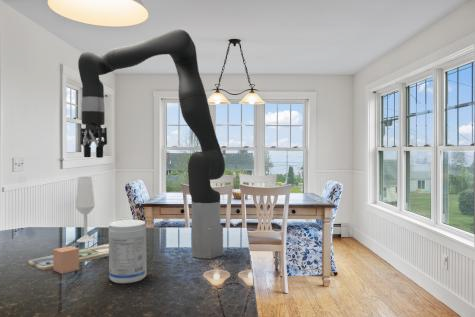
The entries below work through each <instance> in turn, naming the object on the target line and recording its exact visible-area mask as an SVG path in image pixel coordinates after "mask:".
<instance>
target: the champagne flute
mask: <svg viewBox="0 0 475 317" xmlns="http://www.w3.org/2000/svg"><path fill="white" fill-rule="evenodd" d="M76 185H77V188H76V198H75V208H76V210H77V212H79V213H80V214H82V215H83V235H82V236H81V237H80V238H78V239H77V240H76V242H77V243H87V242H88V241H89V242H93V241H96V238H94V237H92V236H90V235H89V234H88V215H89V214H90V213H91V212H92V211H93V209H94V208H95V197H94V196H95V195H94V186H93V179H92V176H78V177H77V184H76Z"/></svg>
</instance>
